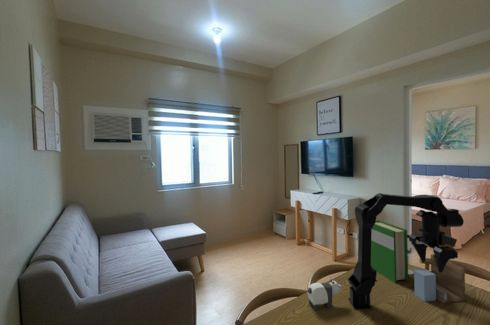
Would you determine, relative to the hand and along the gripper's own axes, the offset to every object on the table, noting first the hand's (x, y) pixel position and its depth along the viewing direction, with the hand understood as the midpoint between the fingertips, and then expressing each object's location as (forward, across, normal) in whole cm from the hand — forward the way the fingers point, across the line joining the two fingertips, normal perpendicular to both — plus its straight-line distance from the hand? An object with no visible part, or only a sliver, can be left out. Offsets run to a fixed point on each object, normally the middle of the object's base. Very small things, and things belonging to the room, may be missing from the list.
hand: (431, 266), depth 96 cm
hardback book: (+15, +25, +4) cm, 29 cm away
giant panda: (+15, 0, +42) cm, 45 cm away
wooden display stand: (+15, +8, -8) cm, 18 cm away
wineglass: (+15, +26, -6) cm, 30 cm away
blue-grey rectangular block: (+15, +4, 0) cm, 15 cm away
